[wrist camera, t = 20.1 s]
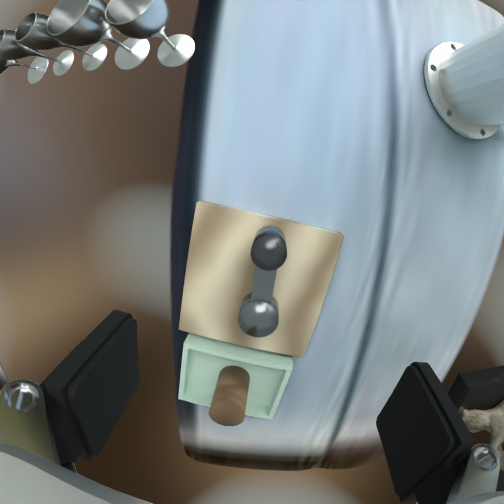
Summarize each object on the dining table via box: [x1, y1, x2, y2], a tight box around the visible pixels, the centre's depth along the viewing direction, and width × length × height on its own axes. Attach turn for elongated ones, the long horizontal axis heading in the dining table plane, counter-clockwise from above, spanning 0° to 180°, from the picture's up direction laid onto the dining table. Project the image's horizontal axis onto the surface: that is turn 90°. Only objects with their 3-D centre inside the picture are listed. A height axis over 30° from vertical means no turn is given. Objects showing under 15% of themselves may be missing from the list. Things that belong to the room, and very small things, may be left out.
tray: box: [178, 333, 293, 420], centre depth 35 cm, size 13×10×2 cm
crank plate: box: [179, 201, 344, 357], centre depth 31 cm, size 15×15×2 cm
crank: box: [238, 225, 287, 337], centre depth 27 cm, size 11×4×6 cm, turn 173°
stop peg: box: [209, 365, 250, 426], centre depth 32 cm, size 4×4×7 cm
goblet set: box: [0, 0, 195, 84], centre depth 19 cm, size 28×6×13 cm, turn 80°
